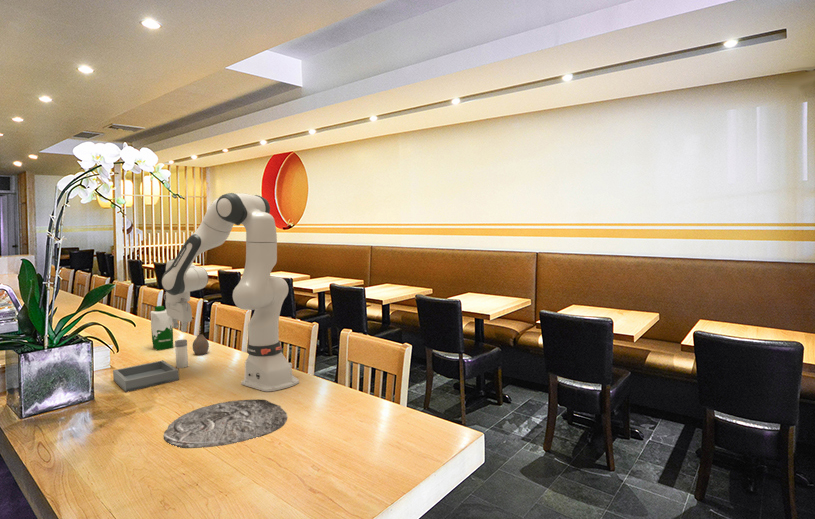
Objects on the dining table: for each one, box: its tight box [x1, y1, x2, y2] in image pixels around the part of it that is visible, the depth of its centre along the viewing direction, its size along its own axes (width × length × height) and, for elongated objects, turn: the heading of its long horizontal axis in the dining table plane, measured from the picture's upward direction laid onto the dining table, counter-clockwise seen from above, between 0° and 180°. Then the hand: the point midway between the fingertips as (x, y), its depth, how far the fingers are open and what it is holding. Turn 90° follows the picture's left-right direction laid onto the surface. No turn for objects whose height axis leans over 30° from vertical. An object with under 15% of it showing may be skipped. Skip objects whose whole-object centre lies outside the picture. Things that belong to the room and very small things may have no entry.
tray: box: [112, 360, 180, 393], centre depth 182 cm, size 18×18×4 cm
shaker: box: [174, 338, 189, 369], centre depth 199 cm, size 5×5×11 cm
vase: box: [192, 334, 210, 356], centre depth 218 cm, size 7×7×9 cm
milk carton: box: [149, 305, 174, 351], centre depth 229 cm, size 9×9×20 cm
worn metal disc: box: [163, 399, 288, 449], centre depth 144 cm, size 33×35×1 cm
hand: (179, 329), depth 198 cm, fingers open, 8 cm apart
